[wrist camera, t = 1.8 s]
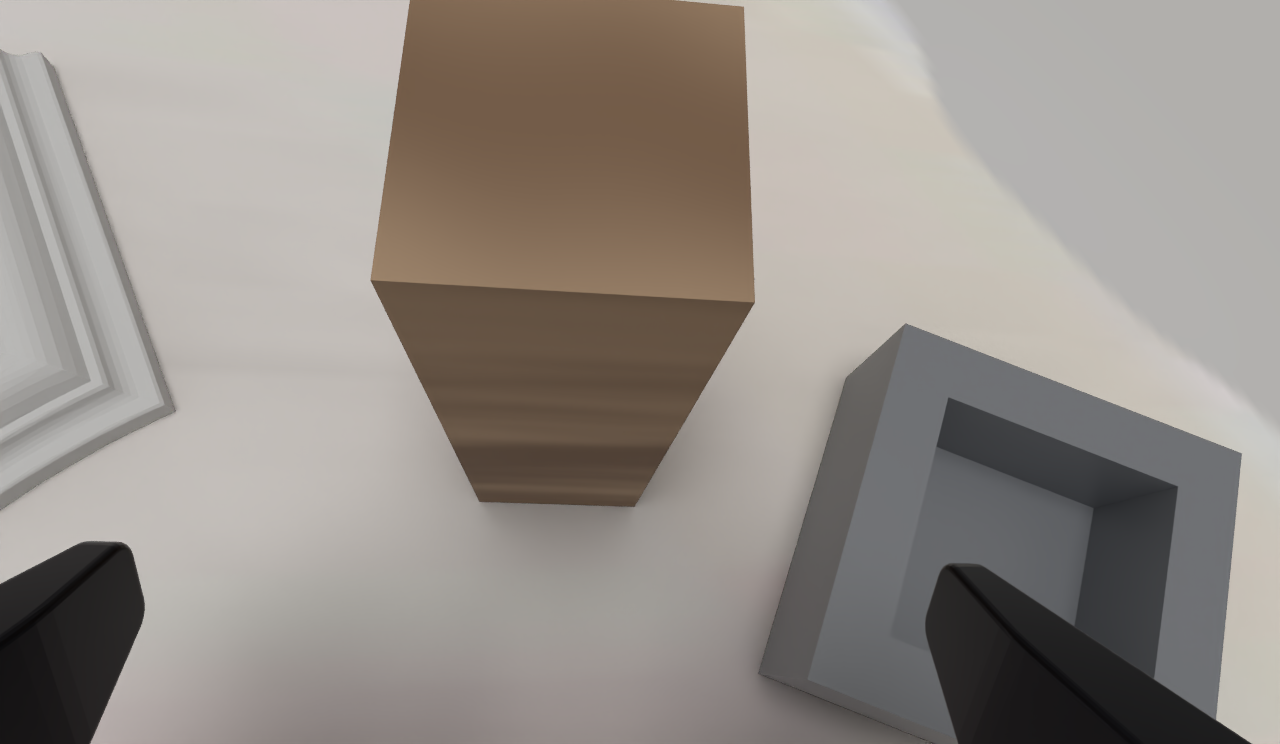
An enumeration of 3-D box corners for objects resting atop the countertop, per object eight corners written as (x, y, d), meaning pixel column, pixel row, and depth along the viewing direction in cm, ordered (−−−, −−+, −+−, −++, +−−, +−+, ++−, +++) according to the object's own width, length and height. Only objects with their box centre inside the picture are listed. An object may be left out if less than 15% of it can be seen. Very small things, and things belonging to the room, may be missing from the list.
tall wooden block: (634, 506, 21) (755, 301, 8) (479, 501, 20) (370, 279, 8) (636, 363, 22) (743, 6, 10) (491, 355, 22) (413, -25, 9)
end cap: (1077, 801, 19) (1204, 838, 16) (758, 673, 20) (806, 679, 16) (1125, 486, 22) (1241, 453, 18) (846, 377, 22) (905, 323, 19)
